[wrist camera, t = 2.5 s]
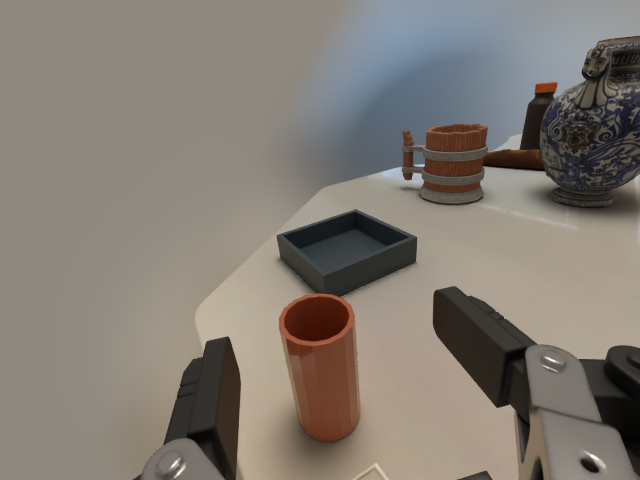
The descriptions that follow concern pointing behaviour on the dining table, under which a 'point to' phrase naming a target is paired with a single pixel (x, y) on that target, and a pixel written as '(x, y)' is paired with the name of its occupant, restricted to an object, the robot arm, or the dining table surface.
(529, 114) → the vinegar
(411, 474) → the dining table surface
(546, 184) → the dining table surface
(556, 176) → the decorative vase
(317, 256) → the tray
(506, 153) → the bread
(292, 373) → the tumbler
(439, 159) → the mug
